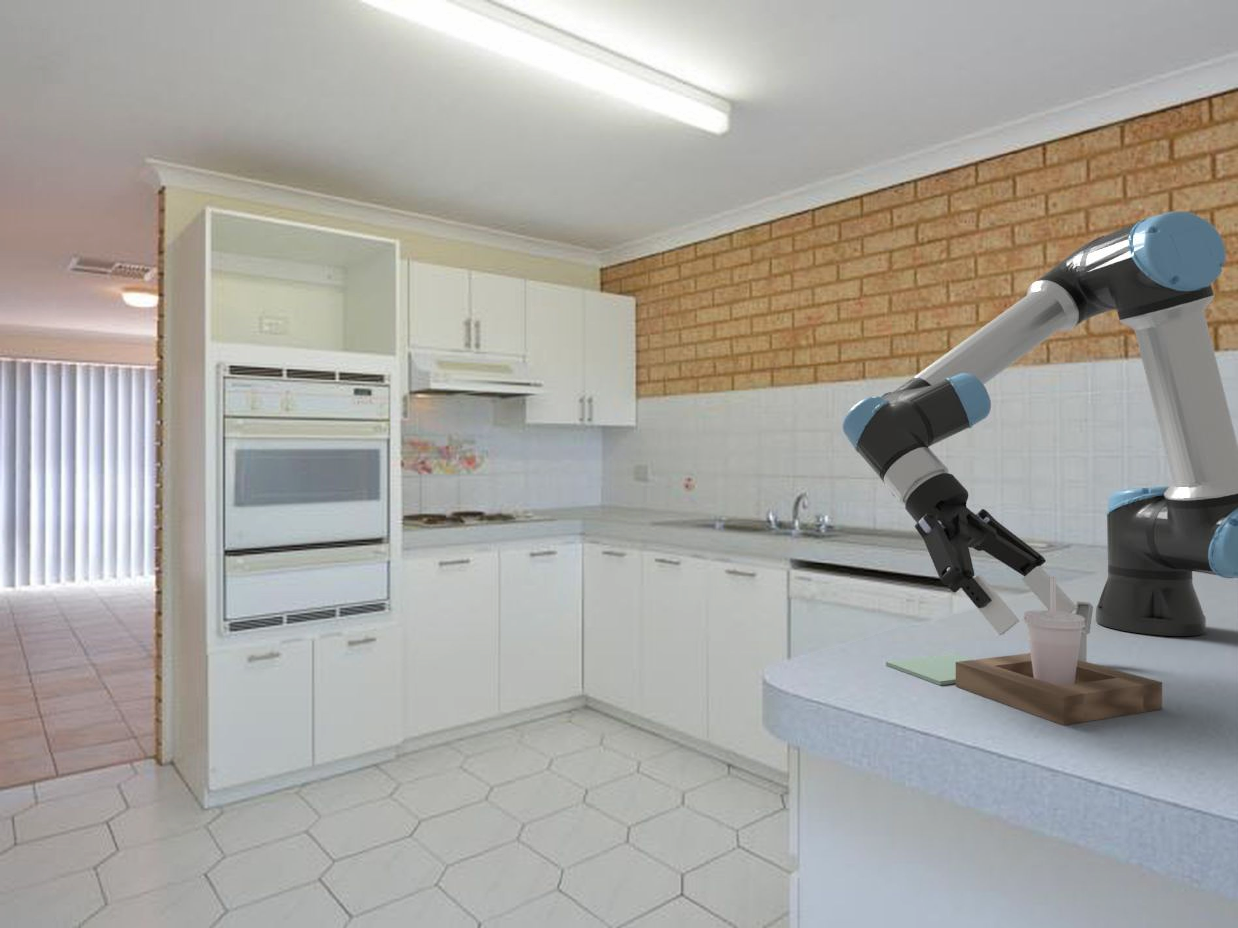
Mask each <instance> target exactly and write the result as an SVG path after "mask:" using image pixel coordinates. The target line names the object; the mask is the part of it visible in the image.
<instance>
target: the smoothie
mask: <svg viewBox="0 0 1238 928" xmlns="http://www.w3.org/2000/svg"><path fill="white" fill-rule="evenodd" d="M1056 584H1057V579H1056V577H1053V576H1050V610H1048V609H1045V610H1044V609H1038V610H1037V609H1036V610H1035V609H1034V610H1027V611H1024V612H1023V619H1022V620H1023V622H1024V623H1026V628H1027V629H1026V630H1027V639H1028V644H1029V653H1031V661H1032V668H1033V676H1034V678H1035V679H1038V680H1041V681H1045V682H1048V683H1051V684H1054V685H1057V686H1064V685H1071V684H1074V682H1075V675H1076V668H1077V661H1078V654H1079V647H1080V641H1081V632H1082V628H1084V627H1085V618H1084V617H1083V616H1081V615H1077V614H1075V613H1073V612H1071V613H1068V612H1061V611H1056Z"/></svg>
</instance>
